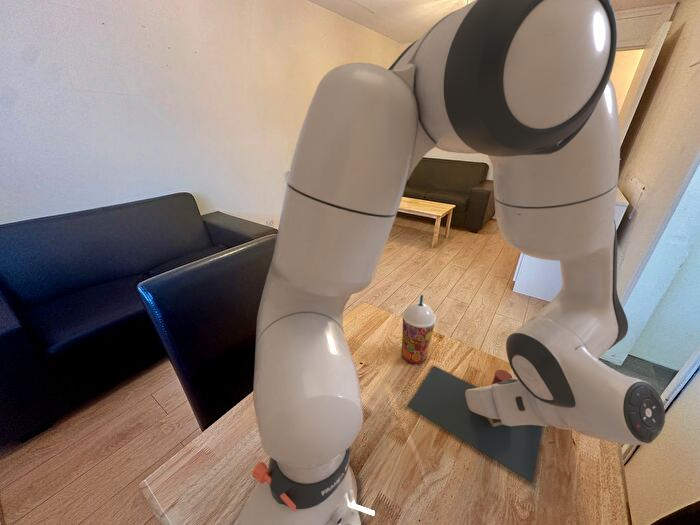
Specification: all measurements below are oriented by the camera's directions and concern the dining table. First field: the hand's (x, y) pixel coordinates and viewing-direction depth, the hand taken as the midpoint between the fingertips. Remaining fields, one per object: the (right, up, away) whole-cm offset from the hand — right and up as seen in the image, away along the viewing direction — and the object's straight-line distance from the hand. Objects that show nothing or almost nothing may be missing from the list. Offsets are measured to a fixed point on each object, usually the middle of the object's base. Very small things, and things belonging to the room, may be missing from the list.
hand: (494, 388), depth 62 cm
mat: (-4, -7, +1) cm, 8 cm away
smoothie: (-14, +1, +17) cm, 22 cm away
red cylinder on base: (0, -6, +2) cm, 6 cm away
